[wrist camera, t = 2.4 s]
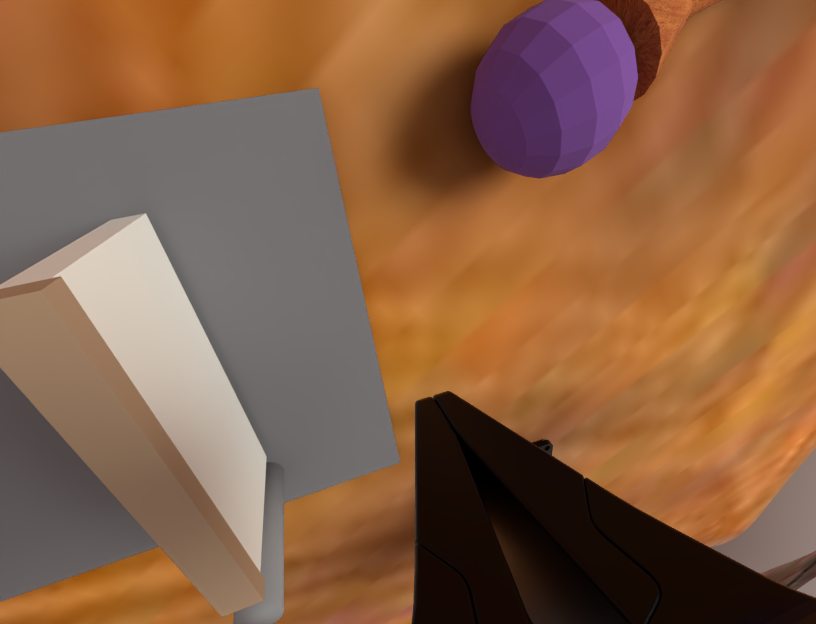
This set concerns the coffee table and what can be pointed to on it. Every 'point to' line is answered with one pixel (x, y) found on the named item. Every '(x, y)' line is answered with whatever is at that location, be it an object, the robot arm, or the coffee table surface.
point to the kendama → (569, 78)
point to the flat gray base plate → (199, 312)
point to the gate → (142, 400)
